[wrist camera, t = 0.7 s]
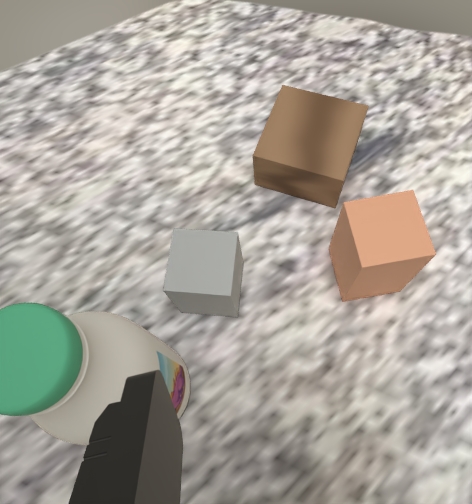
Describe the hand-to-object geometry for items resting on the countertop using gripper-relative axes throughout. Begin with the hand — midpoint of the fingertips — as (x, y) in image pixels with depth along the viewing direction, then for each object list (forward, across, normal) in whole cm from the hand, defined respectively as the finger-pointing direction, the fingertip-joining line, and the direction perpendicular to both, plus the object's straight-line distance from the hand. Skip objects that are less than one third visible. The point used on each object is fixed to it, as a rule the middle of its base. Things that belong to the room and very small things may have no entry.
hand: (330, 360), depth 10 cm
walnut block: (+34, -7, +2) cm, 35 cm away
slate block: (+27, +5, +10) cm, 29 cm away
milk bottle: (+22, +12, +15) cm, 29 cm away
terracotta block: (+26, -9, +11) cm, 30 cm away
